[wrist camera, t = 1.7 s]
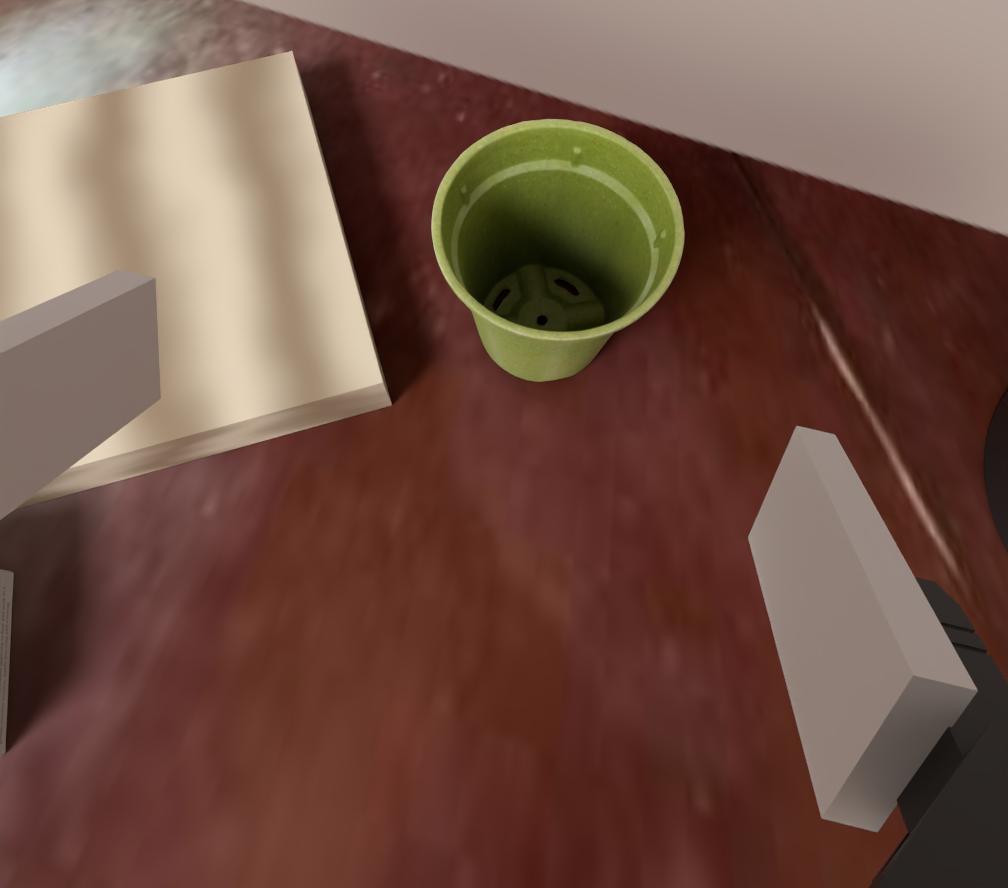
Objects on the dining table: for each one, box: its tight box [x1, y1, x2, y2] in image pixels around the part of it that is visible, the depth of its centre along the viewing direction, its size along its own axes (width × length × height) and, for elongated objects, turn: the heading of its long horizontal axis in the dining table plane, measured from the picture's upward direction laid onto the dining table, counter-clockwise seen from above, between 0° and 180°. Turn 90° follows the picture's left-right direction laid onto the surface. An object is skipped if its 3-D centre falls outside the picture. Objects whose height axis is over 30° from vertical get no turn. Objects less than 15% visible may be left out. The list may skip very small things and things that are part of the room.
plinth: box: [0, 51, 392, 510], centre depth 35 cm, size 18×18×3 cm
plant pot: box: [432, 119, 685, 382], centre depth 32 cm, size 9×9×9 cm
